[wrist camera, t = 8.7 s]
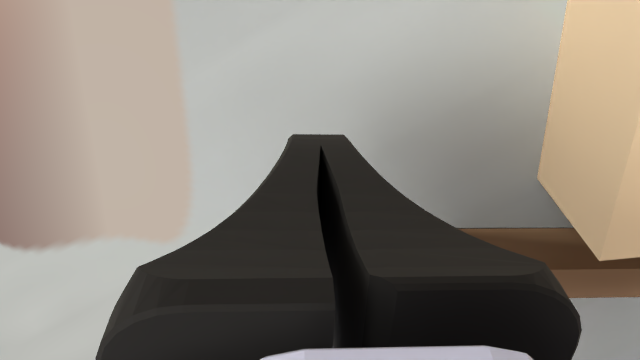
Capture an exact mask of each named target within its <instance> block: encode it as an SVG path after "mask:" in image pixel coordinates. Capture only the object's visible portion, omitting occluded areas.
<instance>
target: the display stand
mask: <svg viewBox="0 0 640 360" xmlns="http://www.w3.org/2000/svg"><path fill="white" fill-rule="evenodd" d="M459 230H461V231H463V232H465V233H467V234H469V235H471V236H474V237H476V238H478V239H481V240H483V241H485V242H488V243H490V244H493V245H495V246H497V247H500V248H503V249H506V250H509V251H512V252H515V253H518V254H521V255H524V256H527V257H530V258H533V259H536V260H539V261H542V262H545V263H546V265H547V266H548V267H549V269H550V270H551V271H552V273H553V274H554V275H555V277H556V278H557V280H558V281H559V282H560V284H561V286H562V287H563V289H564V291H565V292H566V294H567V296H568V297H569V298H597V297H640V257H636V258H625V259H615V260H605V261H599V260H598V259H597V257H596V256H595V255H594V253H593V252H592V251H591V249H590V248H589V247H588V245H587V244H586V243H585V241H584V240H583V239H582V237H581V236H580V235H579V233H578V232H577V231H576V229H575V228H496V229H459Z"/></svg>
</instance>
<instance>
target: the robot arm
mask: <svg viewBox="0 0 640 360" xmlns="http://www.w3.org/2000/svg"><path fill="white" fill-rule="evenodd" d="M581 331H582V329H581V322H580V315H579V314H578V312H577V310H576V309H575V307H574V306H573V304H572V303H571V301H570V299H569V297H568V296H567V294H566V292H565V291H564V289H563V287H562V286H561V284H560V282H559V281H558V280H557V278H556V277H555V275H554V274H553V273H552V271H551V270H550V269H549V267H548V266H547V265H546V263H545V262H542V261H539V260H536V259H533V258H530V257H527V256H524V255H521V254H518V253H515V252H512V251H509V250H506V249H503V248H500V247H497V246H495V245H493V244H490V243H488V242H485V241H483V240H481V239H478V238H476V237H474V236H471V235H469V234H467V233H465V232H463V231H461V230H459V229H457V228H455V227H453V226H451V225H449V224H448V223H446V222H444V221H442V220H440V219H438V218H437V217H435V216H433V215H432V214H430V213H428V212H427V211H425V210H424V209H422V208H421V207H419V206H418V205H416V204H415V203H414V202H412V201H411V200H409V199H408V198H406V197H405V196H404V195H403V194H401V193H400V192H399V191H398V190H396V189H395V188H394V187H393V186H392V185H391V184H389V183H388V182H387V181H386V180H385V179H384V178H383V177H382V176H381V175H379V174H378V172H377V171H376V170H375V169H374V168H373V167H372V166H371V165H370V164H369V163H368V162H367V161H366V160H365V159H364V158H363V156H362V155H361V154H360V153H359V152H358V151H357V150H356V148H355V147H354V146H353V145H352V144H351V142H350V141H349V140H348V139H347V138H346V137H345V136H344V135H298V134H293V135H292V136H291V137H290V138H289V139H288V142H287V144H286V147H285V149H284V151H283V153H282V155H281V156H280V158H279V160H278V161H277V163H276V164H275V166H274V167H273V169H272V170H271V172H270V173H269V175H268V176H267V177H266V179H265V180H264V181H263V182H262V184H261V185H260V186H259V187H258V189H257V190H256V191H255V192H254V193H253V194H252V195H251V197H250V198H249V199H248V200H247V201H246V202H245V203H244V204H243V205H242V206H241V207H240V208H239V209H237V210H236V211H235V212H234V213H233V214H232V215H231V216H229V217H228V218H227V219H225V220H224V221H223V222H222V223H220V224H219V225H218V226H216V227H215V228H213V229H212V230H211V231H209V232H207V233H206V234H204V235H203V236H201V237H199V238H198V239H196V240H194V241H192V242H191V243H189V244H187V245H185V246H183V247H181V248H179V249H178V250H176V251H173V252H171V253H169V254H167V255H164V256H162V257H160V258H158V259H156V260H153V261H151V262H149V263H147V264H144V265H141V266H139V267H138V268H137V269H136V270H135V272H134V274H133V275H132V277H131V279H130V281H129V282H128V284H127V286H126V287H125V289H124V291H123V293H122V294H121V296H120V298H119V300H118V301H117V303H116V305H115V307H114V310H113V312H112V314H111V317H110V319H109V322H108V325H107V327H106V330H105V332H104V335H103V338H102V340H101V343H100V346H99V349H98V352H97V356H96V360H571V359H572V357H573V355H574V353H575V350H576V348H577V346H578V342H579V338H580V335H581Z"/></svg>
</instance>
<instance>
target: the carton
mask: <svg viewBox="0 0 640 360" xmlns="http://www.w3.org/2000/svg"><path fill="white" fill-rule="evenodd" d="M537 179H538V180H539V181H540V183H541V184H542V185H543V187H544V188H545V189H546V191H547V192H548V193H549V195H550V196H551V197H552V199H553V200H554V201H555V203H556V204H557V205H558V207H559V208H560V209H561V211H562V212H563V213H564V215H565V216H566V217H567V219H568V220H569V221H570V223H571V224H572V225H573V227H574V228H575V229H576V231H577V232H578V233H579V235H580V236H581V237H582V239H583V240H584V241H585V243H586V244H587V245H588V247H589V248H590V249H591V251H592V252H593V253H594V255H595V256H596V257H597V259H598V260H599V261H605V260H615V259H625V258H636V257H640V0H568V1H567V7H566V13H565V19H564V24H563V30H562V36H561V42H560V48H559V54H558V60H557V65H556V71H555V77H554V83H553V89H552V95H551V100H550V106H549V112H548V118H547V124H546V130H545V135H544V141H543V147H542V153H541V159H540V165H539V171H538V176H537Z"/></svg>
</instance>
